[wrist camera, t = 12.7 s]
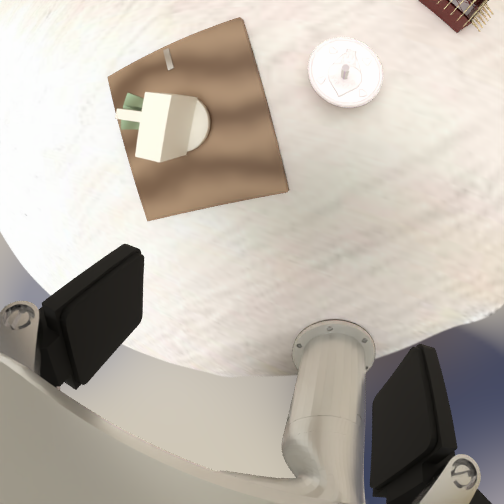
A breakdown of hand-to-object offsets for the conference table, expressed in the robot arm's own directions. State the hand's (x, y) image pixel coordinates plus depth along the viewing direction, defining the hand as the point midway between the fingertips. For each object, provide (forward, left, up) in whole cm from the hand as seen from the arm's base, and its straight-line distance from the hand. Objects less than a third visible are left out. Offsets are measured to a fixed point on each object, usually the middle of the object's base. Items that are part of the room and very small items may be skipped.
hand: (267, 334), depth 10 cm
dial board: (+10, +14, -28) cm, 33 cm away
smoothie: (+10, -5, -28) cm, 31 cm away
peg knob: (+12, +17, -26) cm, 33 cm away
